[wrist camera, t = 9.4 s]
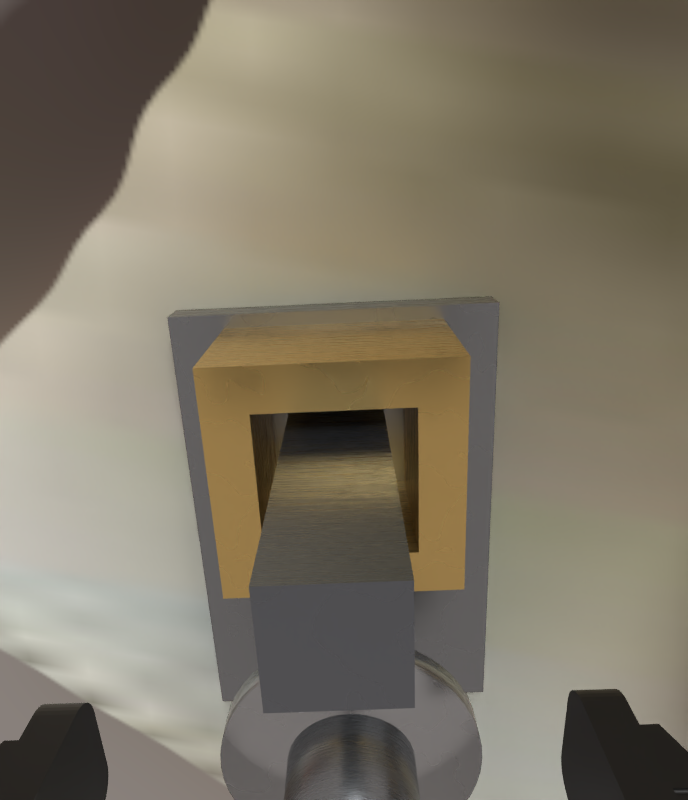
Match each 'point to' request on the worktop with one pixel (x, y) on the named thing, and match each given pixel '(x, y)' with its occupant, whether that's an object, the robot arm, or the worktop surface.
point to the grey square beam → (334, 571)
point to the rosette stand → (421, 508)
